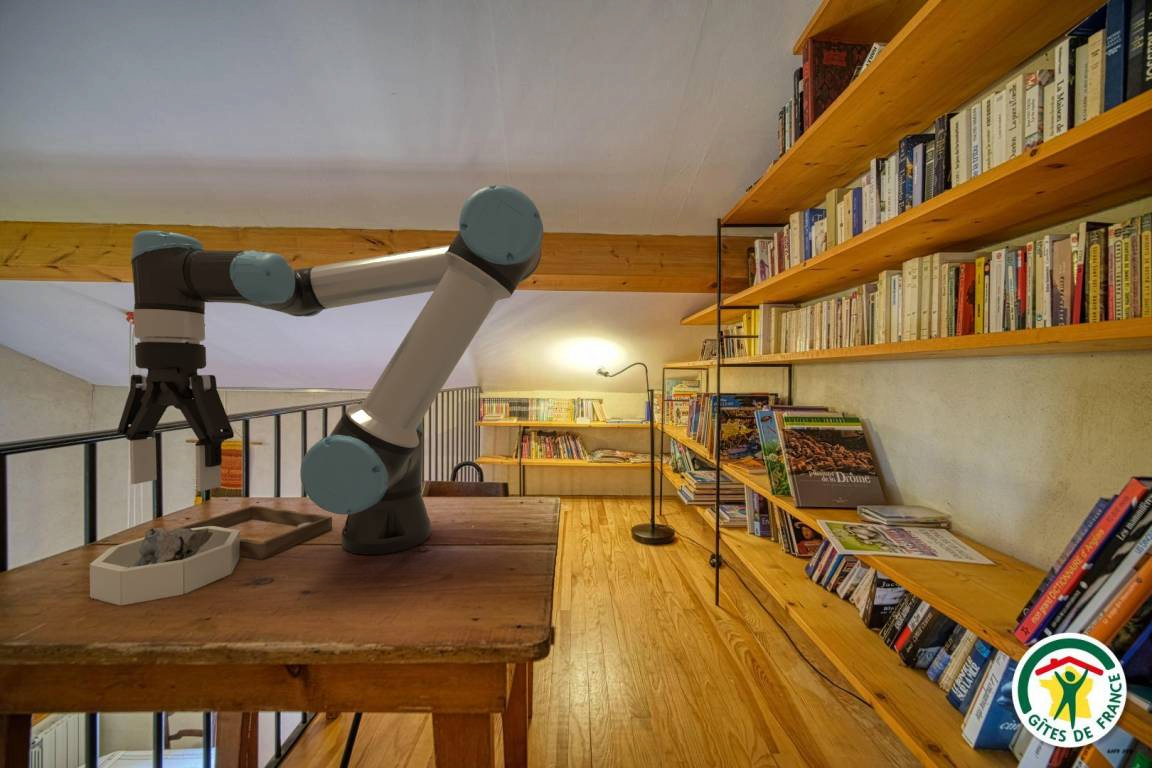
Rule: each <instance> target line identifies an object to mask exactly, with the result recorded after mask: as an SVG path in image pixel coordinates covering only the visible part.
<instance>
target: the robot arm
mask: <svg viewBox="0 0 1152 768" xmlns="http://www.w3.org/2000/svg"><path fill="white" fill-rule="evenodd" d="M539 212H540V211H539V209H538V208H537V206H536V205H535V203H534V202H533V200H532V199H531V198H530V197H529V196H528V195H527V194H526V193H524V192H522V191H521V190H519V189H517V188H515V187H512V186H508V185H503V184H496V185H488V186H484V187H481V188H480V189H477V190H476V191H475V192H473V193H472V194H471V195H470V196H468V198H466V200H465V202H464V204H463V206H462V208H461V211H460V216H459V222H458V227H459V228H458V229H459V230H458V232H457V234H456V235H455V237H454V238H453V240H452V241H451V243H450V244H447V245H441V246H435V247H428V248H423V249H415V250H410V251H405V252H404V251H403V252H396V253H391V254H385V255H379V256H373V257H365V258H360V259H353V260H347V261H341V262H335V263H329V264H328V263H327V264H321V265H316V266H311V267H310V266H309V267H305V268H298V269H293V267H292V265H291V264H290V263H288V262H287V259H286V258H285V257H283V255H281V254H278V253H275V252H266V251H265V252H264V251H260V250H253V249H251V250H207V249H206V250H205V249H204V245H203V244H202V243H201V241H200V240H198V238H197V239H196V238H194V237H192V236H190V235H189V236H188V235H185V234H181V233H177V232H173V231H172V232H171V231H170V232H168V231H162V230H155V229H154V230H141V231H139V232H137V233H135V235H134V236H133V239H132V241H133V242H132V253H131V257H130V264H131V268H132V282H133V283H132V284H133V292H134V293H133V294H134V297H133V298H134V304H133V307H134V308H133V327H134V331H133V332H134V338H136V339H138V340H140V342H137V343H136V344H135V345H134V355H135V359H134V360H135V367H137V368H138V369H142V370H143V369H146V370H147V374H131V376H130V384H129V385H130V386H129V391H128V395H127V399H126V402H125V404H124V407H123V411H122V414H121V416H120V417H121V418H120V421H119V424H118V427H117V434H118V435H119V436H125V439H126V440H128V441H129V451H130V452H129V453H130V454H129V456H130V458H129V459H130V484H131V485H137V484H138V485H139V484H142V483H146V482H147V483H148V482H152V481H157V480H158V479H157V473H158V472H157V445H156V440H157V439H156V438H155V437H156V433H155V432H154V431H155V429H156V427H157V425H158V424H159V422H160V420H162V417H163V416H164V413H165V412H166V410H167V408H169V407H172V406H173V407H174V408H175V409H178V410H180V412H181V413H182V415H183V416H184V418H185V420H186V422H187V423H188V425H189V426H190V429H192V431H193V433H194V434H195V436H196V437H197V439H198V440H197V442H196V443H195V445H194V446H195V474H196V477H195V478H196V479H195V480H196V492H204V491H208V490H211V489H217V488H221V487H222V469H221V468H222V466H221V465H222V463H223V460H222V457H223V456H222V452H223V451H222V444H223V443H224V442H225V441H226V440H230V439H231V440H232V439H233V438H234V435H235V433H234V430H233V427H232V425H231V422H230V420H229V417H228V415H227V412H226V409H225V407H224V405H223V401H222V400H221V397H220V394H219V392H218V389H217V388H218V387H217V380H216V379H217V378H216V375H213V374H198V370H199V369H200V370H202V369H205V368H206V366H207V348H206V346H205V345H204V344H200V343H201V342H203V341H205V340H206V329H205V327H206V324H205V323H206V322H205V315H206V313H205V310H206V303H228V304H244V305H250V306H254V307H258V308H261V309H266V310H270V311H271V310H272V311H276V312H280V313H284V314H286V315H289V316H293V317H298V318H299V317H313V316H316V315H318V314H320V313H321V312H323V310H327V309H328V310H329V309H333V308H340V307H345V306H352V305H356V304H357V305H358V304H363V303H370V302H371V303H372V302H377V301H381V300H388V299H394V298H400V297H405V296H412V295H418V294H423V293H431V292H432V294H431V295H430V297H429V298H428V300H427V301H426V303H425V305H424V306H423V307H422V309H421V311H420V313H419V314H418V316H416V317H417V318H416V319H415V321H414V322H413V323H412V325H411V327H410V328H409V330H408V332H407V333H406V335H405V336H404V338H403V339H402V341H401V343H400V344H399V346H398V347H397V349H396V351H395V352H394V354H393V355H392V357H391V358H390V360H389V362H388V363H387V365H386V366H385V368H384V369H383V371H382V372H381V374H380V376H379V377H378V379H377V381H376V382H375V384H374V385H373V387H372V389H371V390H370V391H369V393H368V395H367V396H366V398H365V400H364V401H363V402H361V403H357V404H353V405H350V406H348V407H347V408H346V410H345V411H344V412H343V414H342V416H341V417H340V419H339V420H338V422H337V424H336V425H335V427H334V428H333V430H332V431H331V433H330V434H329V436H326V437H322V438H321V439H319V441H318V442H316V443H314V444H313V445H312V446H311V447H310V448H309V449H308V450H307V452H306V453H305V455H304V457H303V459H302V460H301V466H300V481H301V483H302V485H303V488H304V492H305V494H306V496H307V497H308V498H309V499H310V500H311V501H312V502H313V503H314V504H315V505H316V506H317V507H318V508H320V509H322V510H324V511H327V512H328V513H331V514H334V515H335V514H336V515H345V516H346V515H347V516H346V521H345V525H343V529H342V531H341V547H342V548H343V549H344V550H345V551H347V552H350V553H353V554H358V555H384V554H391V553H392V554H393V553H397V552H402V551H405V550H409V549H411V548H413V547H417V546H418V545H421V544H422V543H424V542H425V541H427V539H429V537H430V536H431V519H430V517H429V515H428V512H427V508H426V505H425V501H424V498H423V495H422V481H423V478H422V476H423V475H422V474H423V473H422V470H423V468H422V467H423V436H424V431H423V423H422V421H423V419H424V417H425V415H426V414H427V412H428V411H429V409H430V408H431V406H432V404H433V403H434V401H435V400H436V398H437V396H438V395H439V393H440V392H441V390H442V388H443V387H444V385H445V384H446V382H447V380H448V379H449V377H450V376H451V375H452V373H453V371H454V369H455V368H456V366H457V365H458V363H459V362H460V360H461V359H462V356H463V355H464V353H466V351H467V348H469V346H470V344H471V343H472V341H473V339H474V338H475V336H476V334H477V333H478V331H479V330H480V328H481V327H482V325H483V323H484V321H485V320H486V318H488V315H489V313H490V312H491V310H493V309H492V308H493V307H494V306H495V304H496V302H498V301H500V300H505V299H508V298H509V299H510V298H511V297H512V295H513V294H514V292H515V291H516V290H517V288H518V286H519V284H520V283H521V282H524V281H525V280H527V279H528V278H530V277H531V276H532V275H533V274H534V273H535V271H536V270H537V268H538V267H539V265H540V261H541V258H542V242H543V238H544V225H543V221H542V218H541V214H540V213H539Z"/></svg>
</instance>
